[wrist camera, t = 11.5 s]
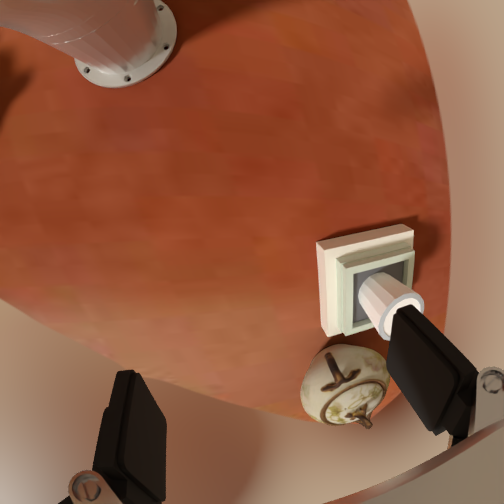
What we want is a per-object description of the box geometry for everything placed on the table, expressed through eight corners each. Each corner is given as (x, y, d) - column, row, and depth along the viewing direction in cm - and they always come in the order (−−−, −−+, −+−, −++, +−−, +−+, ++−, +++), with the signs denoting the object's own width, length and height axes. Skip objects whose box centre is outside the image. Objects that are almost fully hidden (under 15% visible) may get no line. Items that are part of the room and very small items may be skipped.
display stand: (316, 241, 40) (332, 258, 35) (402, 223, 41) (425, 236, 36) (321, 325, 46) (334, 348, 40) (397, 302, 47) (415, 320, 41)
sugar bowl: (381, 369, 53) (417, 423, 39) (314, 407, 54) (339, 467, 40) (353, 301, 45) (403, 363, 31) (269, 350, 46) (294, 425, 32)
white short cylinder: (353, 275, 37) (380, 303, 31) (397, 262, 38) (427, 286, 31) (353, 318, 40) (376, 348, 34) (395, 304, 41) (421, 331, 34)
